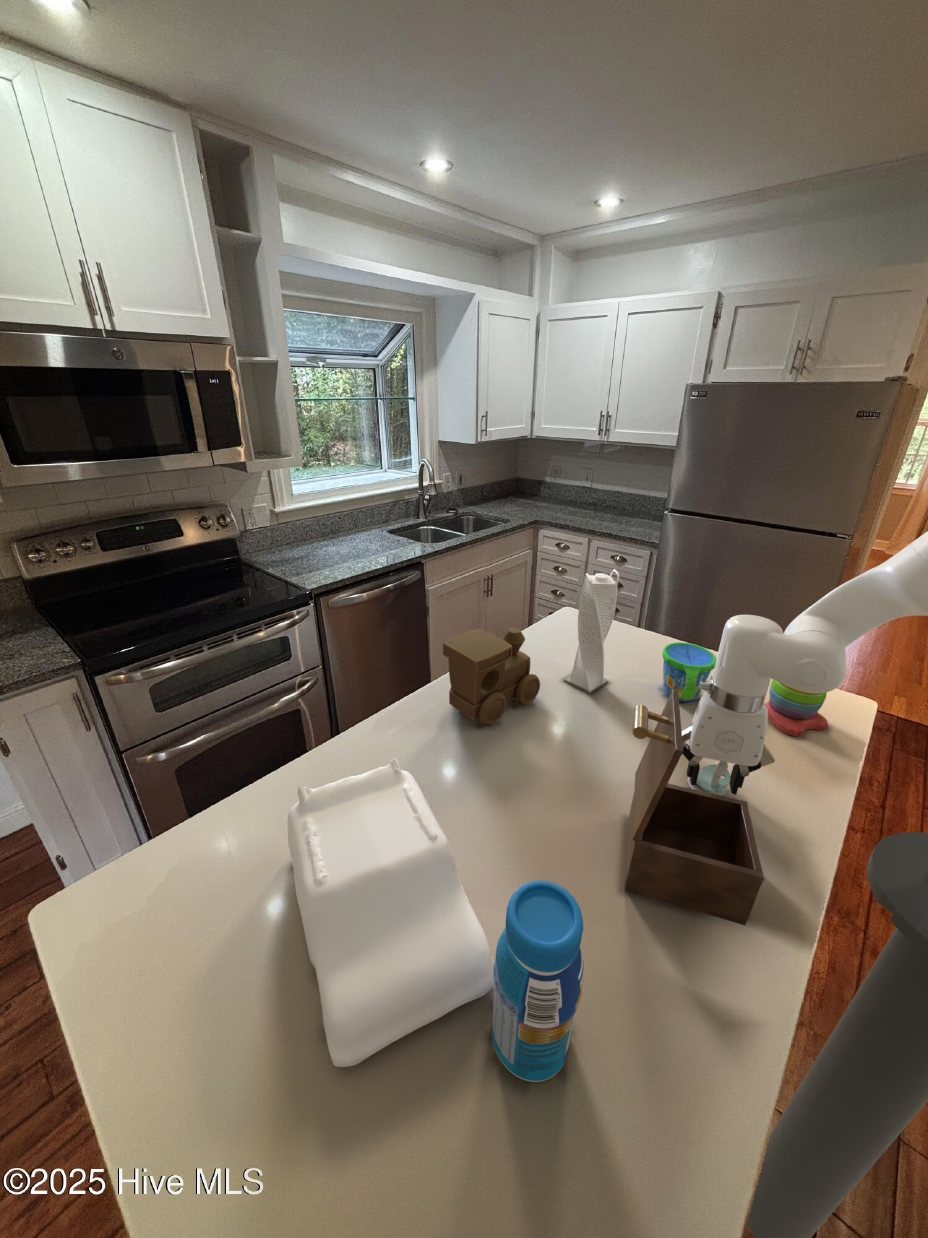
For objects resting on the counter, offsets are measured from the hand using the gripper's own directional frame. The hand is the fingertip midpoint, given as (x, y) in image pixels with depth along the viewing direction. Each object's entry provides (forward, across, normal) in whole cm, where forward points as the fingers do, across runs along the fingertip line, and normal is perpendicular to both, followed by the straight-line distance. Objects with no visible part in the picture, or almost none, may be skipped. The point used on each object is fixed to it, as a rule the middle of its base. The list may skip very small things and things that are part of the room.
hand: (712, 783), depth 84 cm
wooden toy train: (+1, -42, +11) cm, 43 cm away
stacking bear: (+2, +17, +27) cm, 32 cm away
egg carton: (+1, -43, -38) cm, 57 cm away
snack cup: (+1, -4, +29) cm, 29 cm away
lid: (-16, -11, -18) cm, 26 cm away
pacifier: (+1, -1, 0) cm, 1 cm away
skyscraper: (+1, -24, +26) cm, 35 cm away
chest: (+1, -6, -18) cm, 19 cm away
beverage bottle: (+1, -22, -45) cm, 50 cm away
